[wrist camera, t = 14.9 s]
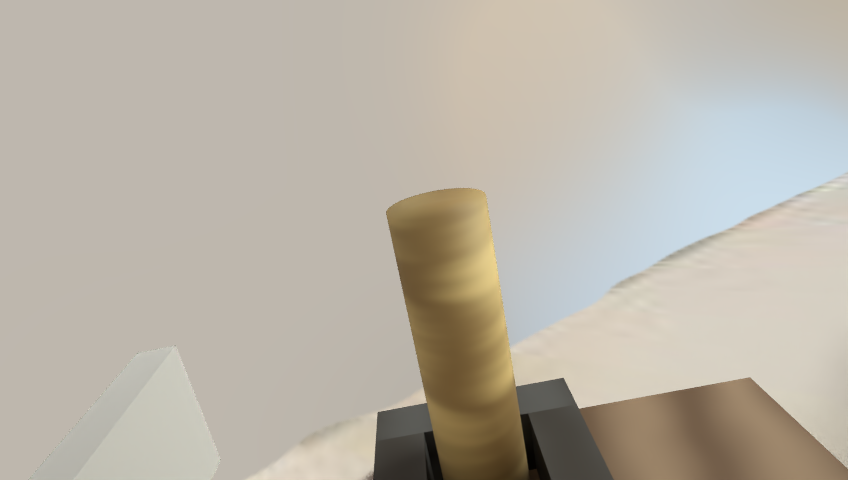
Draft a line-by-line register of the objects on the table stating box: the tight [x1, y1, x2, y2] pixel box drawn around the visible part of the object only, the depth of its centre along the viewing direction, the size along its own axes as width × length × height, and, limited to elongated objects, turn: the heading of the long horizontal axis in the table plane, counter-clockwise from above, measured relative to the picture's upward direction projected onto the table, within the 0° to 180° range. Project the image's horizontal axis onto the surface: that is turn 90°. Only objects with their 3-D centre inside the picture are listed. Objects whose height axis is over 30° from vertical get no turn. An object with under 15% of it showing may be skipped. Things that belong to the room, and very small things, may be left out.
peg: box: [386, 188, 530, 480], centre depth 25 cm, size 4×4×16 cm
